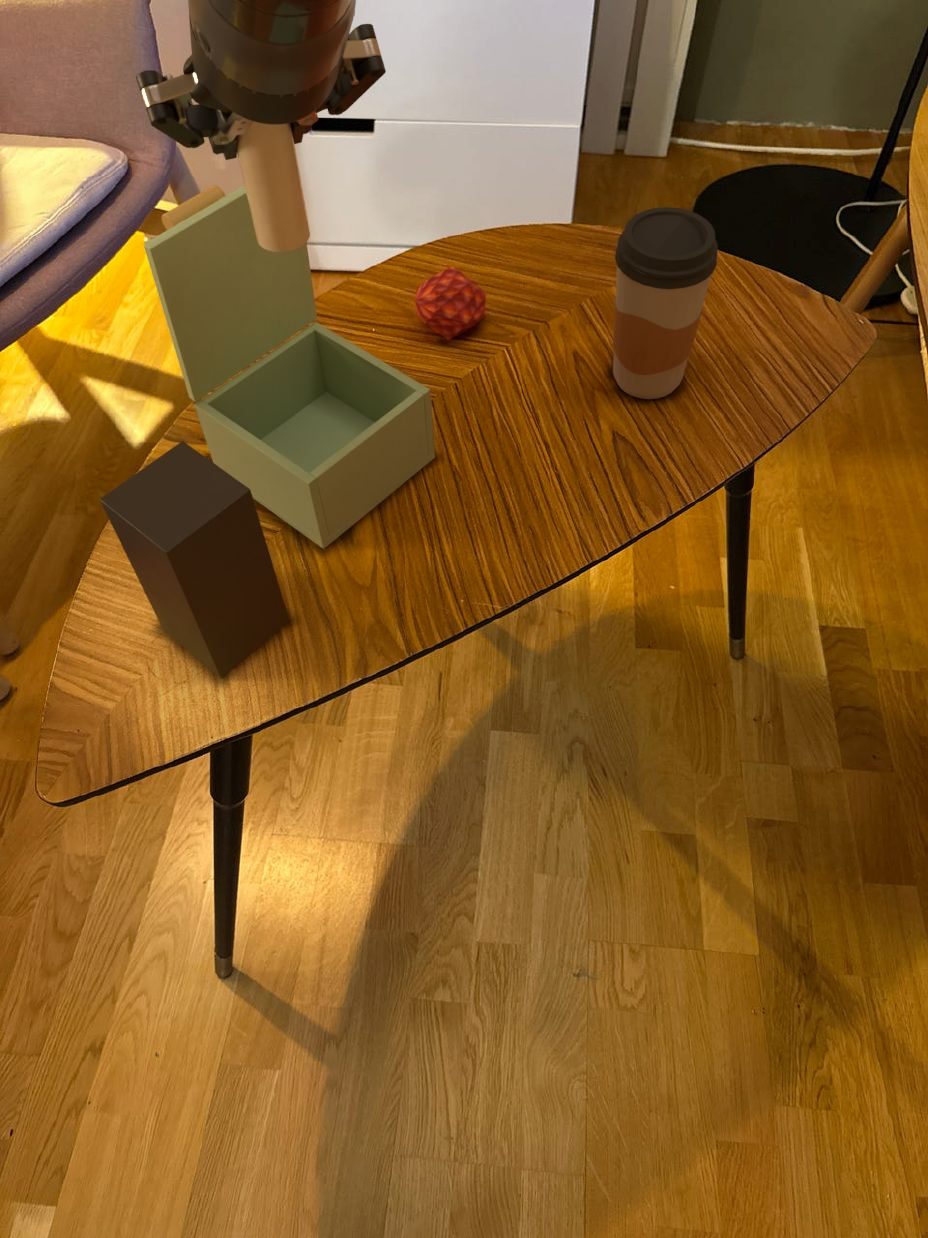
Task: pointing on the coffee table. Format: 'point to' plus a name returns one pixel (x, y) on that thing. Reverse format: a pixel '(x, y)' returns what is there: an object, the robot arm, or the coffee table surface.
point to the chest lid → (225, 288)
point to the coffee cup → (659, 297)
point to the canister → (273, 186)
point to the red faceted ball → (450, 303)
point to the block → (199, 556)
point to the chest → (319, 431)
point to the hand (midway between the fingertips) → (258, 135)
